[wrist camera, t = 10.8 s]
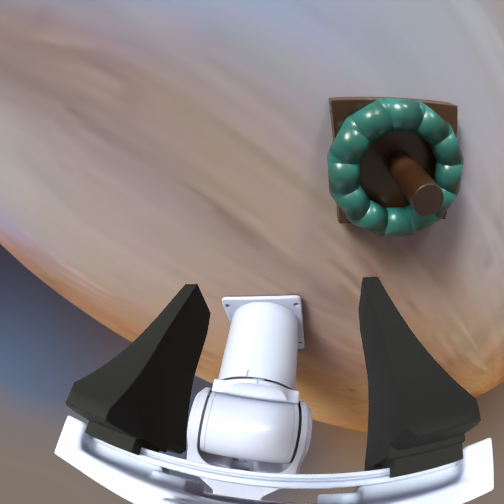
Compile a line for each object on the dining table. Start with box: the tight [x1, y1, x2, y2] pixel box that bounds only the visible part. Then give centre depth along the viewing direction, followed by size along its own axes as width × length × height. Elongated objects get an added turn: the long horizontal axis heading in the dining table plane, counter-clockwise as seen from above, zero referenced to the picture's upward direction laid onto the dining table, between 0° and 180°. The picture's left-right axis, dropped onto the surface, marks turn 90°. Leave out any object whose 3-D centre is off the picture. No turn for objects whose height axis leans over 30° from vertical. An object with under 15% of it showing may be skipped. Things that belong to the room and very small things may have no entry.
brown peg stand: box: [329, 97, 457, 223], centre depth 14 cm, size 9×9×6 cm
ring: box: [327, 98, 463, 236], centre depth 15 cm, size 10×10×2 cm
